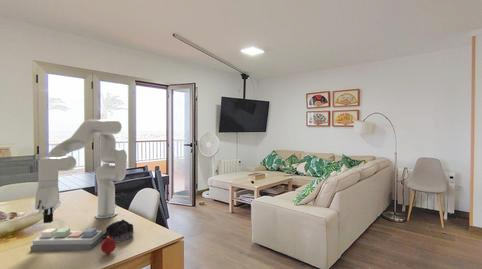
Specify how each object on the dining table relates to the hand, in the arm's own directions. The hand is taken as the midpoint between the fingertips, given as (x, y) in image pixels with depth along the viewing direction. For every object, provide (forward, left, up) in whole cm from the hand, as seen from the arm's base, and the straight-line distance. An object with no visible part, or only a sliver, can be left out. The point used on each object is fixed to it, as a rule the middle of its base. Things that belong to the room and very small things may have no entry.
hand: (48, 222), depth 119 cm
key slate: (0, +19, -7) cm, 20 cm away
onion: (+11, +32, -11) cm, 36 cm away
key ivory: (0, 0, -7) cm, 7 cm away
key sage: (0, +6, -7) cm, 9 cm away
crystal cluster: (-7, +30, -11) cm, 33 cm away
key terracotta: (0, +13, -9) cm, 15 cm away
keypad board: (0, +9, -11) cm, 14 cm away
